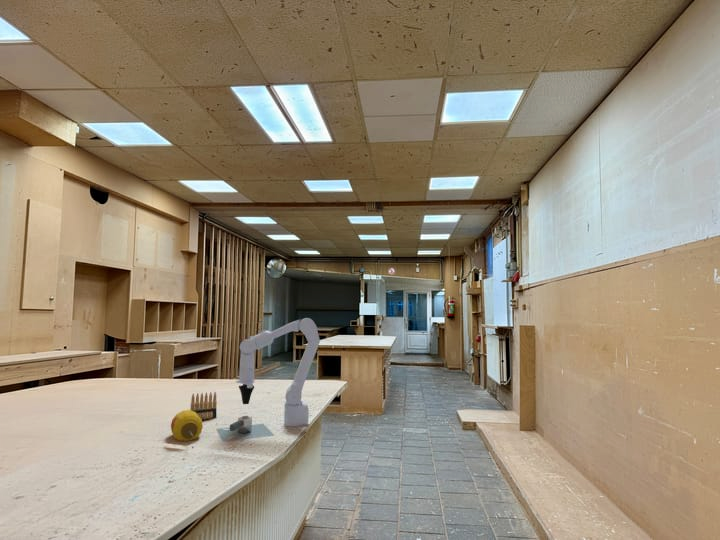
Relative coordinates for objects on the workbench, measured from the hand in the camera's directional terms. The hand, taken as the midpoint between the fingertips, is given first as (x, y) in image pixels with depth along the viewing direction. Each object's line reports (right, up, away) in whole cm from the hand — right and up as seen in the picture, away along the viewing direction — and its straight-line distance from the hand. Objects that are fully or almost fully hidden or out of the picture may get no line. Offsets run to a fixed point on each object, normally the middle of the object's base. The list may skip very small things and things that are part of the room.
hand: (245, 403), depth 162 cm
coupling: (+2, -6, -14) cm, 16 cm away
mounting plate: (+3, -8, -11) cm, 14 cm away
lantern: (-17, -8, -17) cm, 25 cm away
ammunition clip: (-21, -11, +9) cm, 25 cm away
